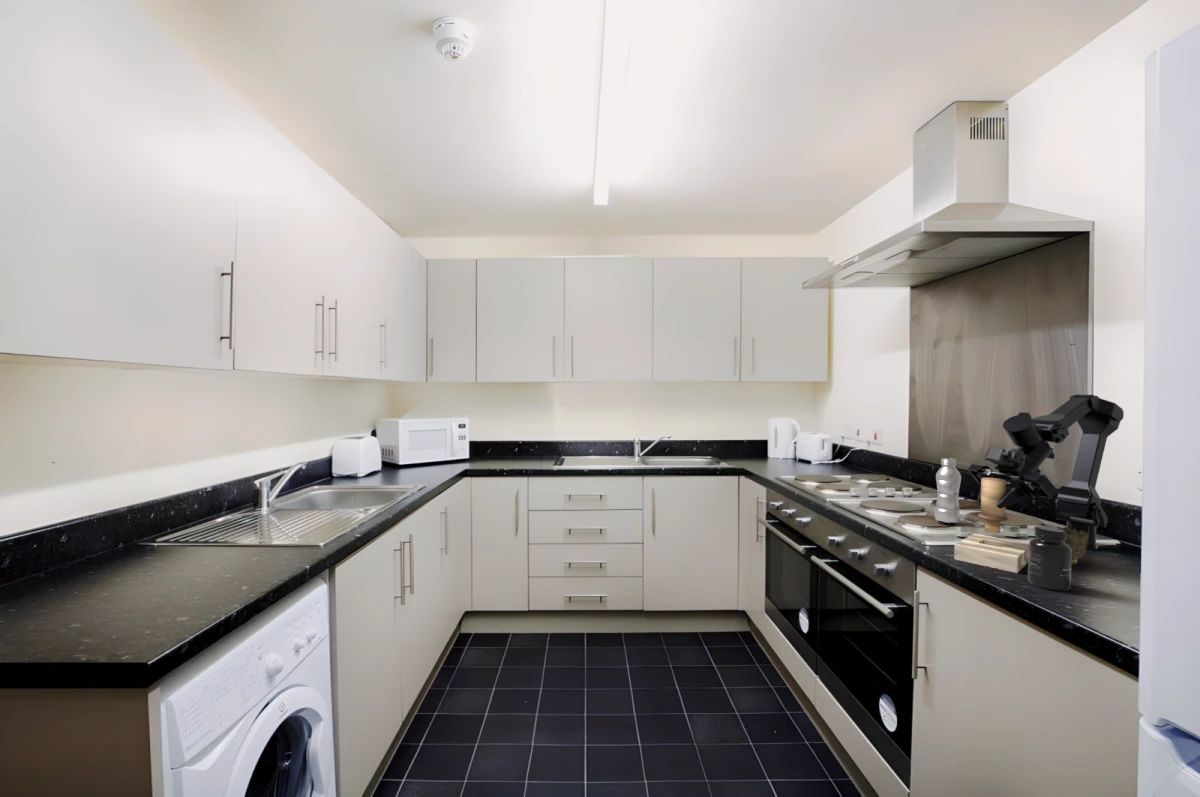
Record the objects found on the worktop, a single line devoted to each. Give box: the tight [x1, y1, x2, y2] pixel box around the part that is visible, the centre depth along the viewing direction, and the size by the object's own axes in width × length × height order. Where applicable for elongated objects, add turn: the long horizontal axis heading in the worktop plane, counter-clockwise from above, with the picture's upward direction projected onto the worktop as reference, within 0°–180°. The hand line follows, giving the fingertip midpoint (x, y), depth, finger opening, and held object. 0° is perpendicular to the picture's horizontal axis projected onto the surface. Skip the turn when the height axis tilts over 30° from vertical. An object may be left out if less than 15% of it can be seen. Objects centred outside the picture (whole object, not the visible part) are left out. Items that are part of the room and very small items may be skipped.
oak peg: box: [978, 478, 1008, 534], centre depth 125 cm, size 6×6×13 cm
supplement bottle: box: [1027, 525, 1072, 592], centre depth 107 cm, size 7×7×12 cm
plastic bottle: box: [934, 457, 962, 523], centre depth 157 cm, size 6×7×20 cm
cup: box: [1056, 526, 1089, 566], centre depth 121 cm, size 8×7×8 cm
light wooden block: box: [953, 532, 1029, 574], centre depth 124 cm, size 16×12×4 cm
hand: (988, 504), depth 125 cm, fingers closed on oak peg, 5 cm apart
